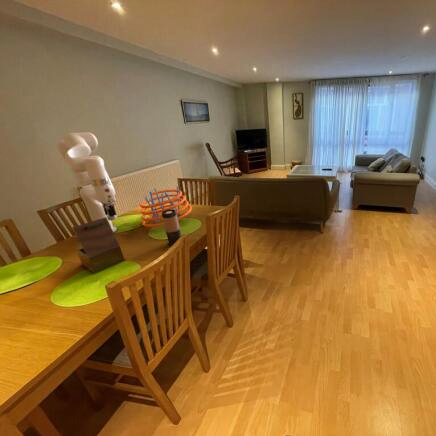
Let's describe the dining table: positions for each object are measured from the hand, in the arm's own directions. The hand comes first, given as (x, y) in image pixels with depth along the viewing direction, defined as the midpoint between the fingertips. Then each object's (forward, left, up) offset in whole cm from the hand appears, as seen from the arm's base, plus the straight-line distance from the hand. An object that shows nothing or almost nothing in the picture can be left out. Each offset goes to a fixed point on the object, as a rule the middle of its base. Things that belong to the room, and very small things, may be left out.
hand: (111, 214), depth 131 cm
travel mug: (+21, +20, -22) cm, 36 cm away
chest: (+8, -13, -21) cm, 26 cm away
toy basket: (-16, +39, -22) cm, 48 cm away
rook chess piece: (0, 0, -3) cm, 3 cm away
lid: (+12, -13, -5) cm, 18 cm away
